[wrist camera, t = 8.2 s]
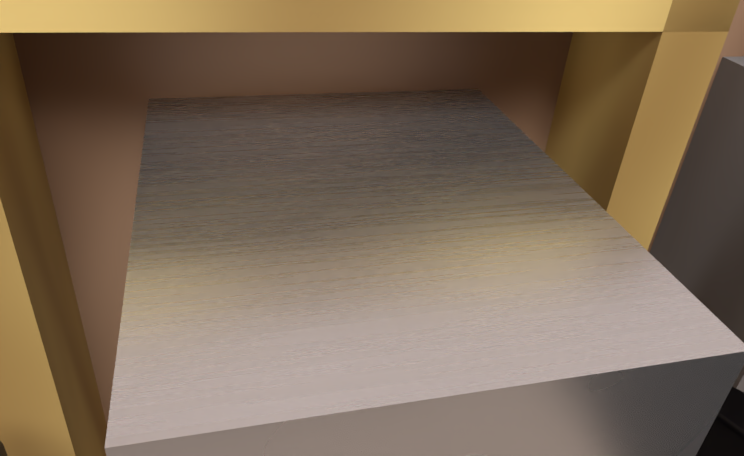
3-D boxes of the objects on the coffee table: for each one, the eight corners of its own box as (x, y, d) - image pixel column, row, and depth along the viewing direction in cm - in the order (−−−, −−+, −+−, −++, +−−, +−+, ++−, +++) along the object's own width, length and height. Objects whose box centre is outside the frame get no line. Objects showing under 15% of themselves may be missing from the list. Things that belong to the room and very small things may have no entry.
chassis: (938, -134, 11) (1251, -110, 8) (675, 412, 19) (778, 539, 15) (-335, -237, 7) (-823, -279, 3) (-2, 527, 14) (-57, 737, 11)
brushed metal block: (478, 89, 10) (752, 350, 5) (429, 393, 14) (561, 709, 9) (148, 98, 9) (104, 448, 4) (194, 429, 13) (198, 814, 8)
